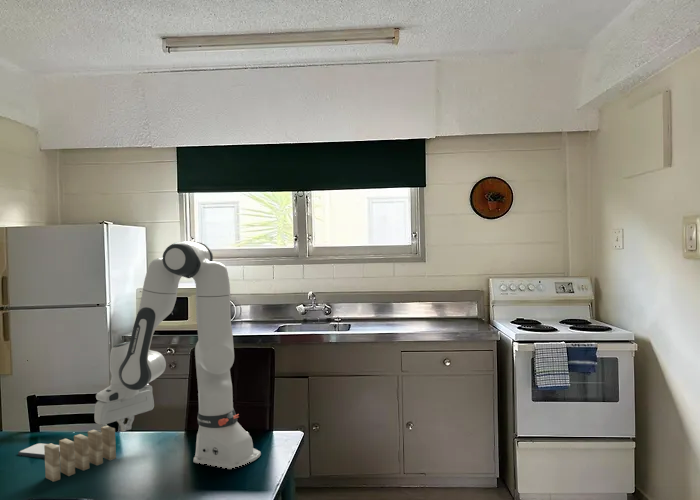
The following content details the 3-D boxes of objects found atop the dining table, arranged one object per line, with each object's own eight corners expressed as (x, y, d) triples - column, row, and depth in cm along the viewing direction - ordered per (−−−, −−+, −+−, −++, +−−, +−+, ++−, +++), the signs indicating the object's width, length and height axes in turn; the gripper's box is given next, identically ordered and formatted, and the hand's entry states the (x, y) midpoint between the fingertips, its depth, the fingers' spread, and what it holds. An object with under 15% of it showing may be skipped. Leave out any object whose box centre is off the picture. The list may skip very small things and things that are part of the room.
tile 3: (81, 464, 173) (79, 433, 172) (89, 468, 170) (88, 437, 169) (75, 466, 171) (73, 435, 171) (83, 470, 168) (81, 439, 168)
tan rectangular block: (107, 455, 180) (106, 425, 180) (116, 458, 177) (114, 428, 177) (102, 457, 178) (100, 427, 178) (110, 460, 175) (109, 430, 175)
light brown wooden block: (94, 459, 176) (93, 429, 176) (103, 463, 173) (101, 432, 173) (88, 461, 175) (87, 431, 174) (97, 465, 172) (95, 434, 171)
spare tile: (52, 475, 165) (51, 443, 165) (60, 479, 162) (59, 446, 162) (45, 477, 164) (44, 445, 163) (53, 481, 161) (52, 448, 160)
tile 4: (67, 469, 169) (65, 438, 169) (75, 473, 166) (73, 441, 166) (60, 472, 167) (59, 440, 167) (68, 476, 164) (67, 443, 164)
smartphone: (16, 457, 182) (53, 460, 177) (16, 452, 182) (53, 455, 177) (38, 447, 190) (74, 450, 186) (38, 442, 190) (74, 445, 186)
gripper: (146, 381, 193) (147, 419, 193) (91, 395, 176) (92, 437, 176) (157, 383, 189) (158, 422, 189) (101, 398, 172) (102, 441, 173)
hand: (126, 430), depth 183 cm, fingers closed
